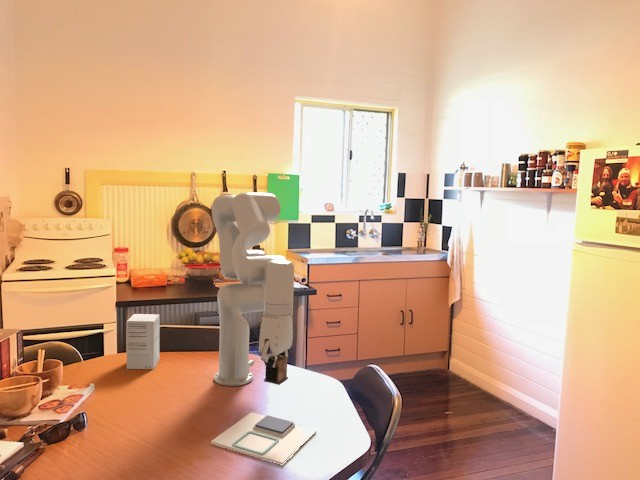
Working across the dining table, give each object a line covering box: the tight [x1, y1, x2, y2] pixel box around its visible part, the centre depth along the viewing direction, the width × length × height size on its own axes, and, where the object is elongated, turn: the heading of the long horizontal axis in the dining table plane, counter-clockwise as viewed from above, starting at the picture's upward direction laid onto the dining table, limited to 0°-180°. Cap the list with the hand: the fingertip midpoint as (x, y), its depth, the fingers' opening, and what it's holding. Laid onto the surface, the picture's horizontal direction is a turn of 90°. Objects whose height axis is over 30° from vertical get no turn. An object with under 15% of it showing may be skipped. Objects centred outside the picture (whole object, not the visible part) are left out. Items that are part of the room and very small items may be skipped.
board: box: [210, 411, 309, 464], centre depth 127 cm, size 18×20×2 cm
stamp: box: [263, 355, 289, 386], centre depth 129 cm, size 4×4×6 cm
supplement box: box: [125, 313, 161, 370], centre depth 173 cm, size 10×9×17 cm
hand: (276, 377), depth 130 cm, fingers closed on stamp, 4 cm apart
